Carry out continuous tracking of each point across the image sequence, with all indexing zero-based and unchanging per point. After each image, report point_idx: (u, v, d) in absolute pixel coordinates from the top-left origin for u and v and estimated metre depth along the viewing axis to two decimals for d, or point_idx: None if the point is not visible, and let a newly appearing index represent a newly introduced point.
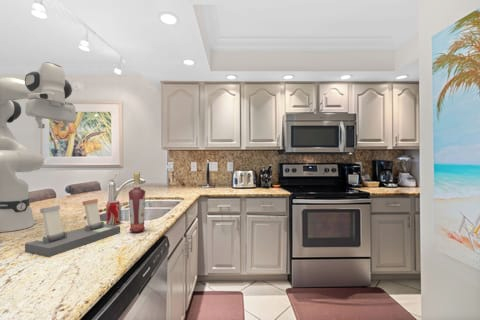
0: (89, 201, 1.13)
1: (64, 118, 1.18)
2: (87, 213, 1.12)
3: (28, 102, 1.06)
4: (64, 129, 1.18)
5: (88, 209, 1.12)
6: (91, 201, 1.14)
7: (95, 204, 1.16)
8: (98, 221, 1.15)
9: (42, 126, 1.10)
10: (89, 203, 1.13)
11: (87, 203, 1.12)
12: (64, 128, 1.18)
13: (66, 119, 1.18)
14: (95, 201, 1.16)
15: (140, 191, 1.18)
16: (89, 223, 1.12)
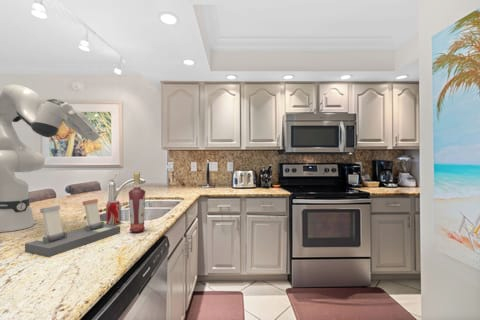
0: (89, 201, 1.13)
1: (70, 117, 1.12)
2: (87, 213, 1.12)
3: None
4: (72, 115, 1.08)
5: (88, 209, 1.12)
6: (91, 201, 1.14)
7: (95, 204, 1.16)
8: (98, 221, 1.15)
9: (89, 132, 1.13)
10: (89, 203, 1.13)
11: (87, 203, 1.12)
12: (72, 115, 1.08)
13: (68, 116, 1.11)
14: (95, 201, 1.16)
15: (140, 191, 1.18)
16: (89, 223, 1.12)
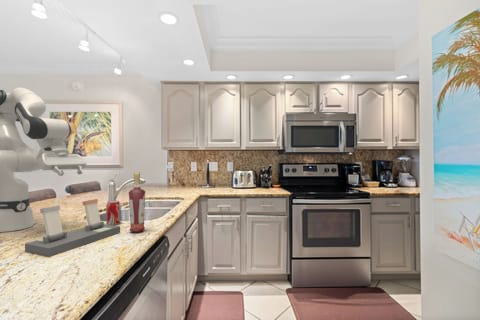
0: (89, 201, 1.13)
1: (75, 162, 1.24)
2: (87, 213, 1.12)
3: (38, 159, 1.13)
4: (80, 171, 1.24)
5: (88, 209, 1.12)
6: (91, 201, 1.14)
7: (95, 204, 1.16)
8: (98, 221, 1.15)
9: (61, 172, 1.15)
10: (89, 203, 1.13)
11: (87, 203, 1.12)
12: (80, 170, 1.24)
13: (78, 163, 1.25)
14: (95, 201, 1.16)
15: (140, 191, 1.18)
16: (89, 223, 1.12)
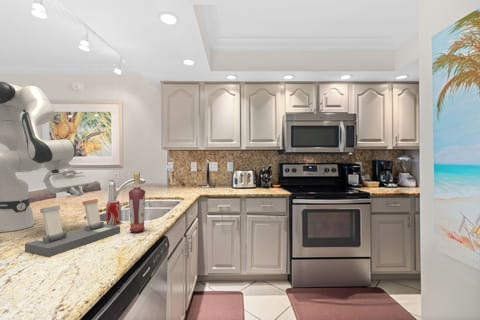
0: (89, 201, 1.13)
1: (83, 182, 1.23)
2: (87, 213, 1.12)
3: (46, 183, 1.13)
4: (81, 192, 1.19)
5: (88, 209, 1.12)
6: (91, 201, 1.14)
7: (95, 204, 1.16)
8: (98, 221, 1.15)
9: (78, 192, 1.18)
10: (89, 203, 1.13)
11: (87, 203, 1.12)
12: (81, 191, 1.19)
13: (85, 182, 1.24)
14: (95, 201, 1.16)
15: (140, 191, 1.18)
16: (89, 223, 1.12)
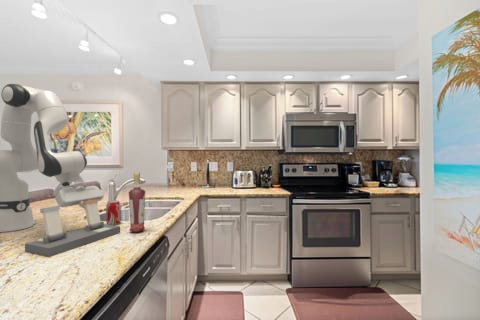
0: (89, 201, 1.13)
1: (93, 196, 1.20)
2: (87, 213, 1.12)
3: (56, 196, 1.09)
4: None
5: (88, 209, 1.12)
6: (91, 201, 1.14)
7: (95, 204, 1.16)
8: (98, 221, 1.15)
9: None
10: (89, 203, 1.13)
11: (87, 203, 1.12)
12: None
13: (95, 196, 1.21)
14: (95, 201, 1.16)
15: (140, 191, 1.18)
16: (89, 223, 1.12)
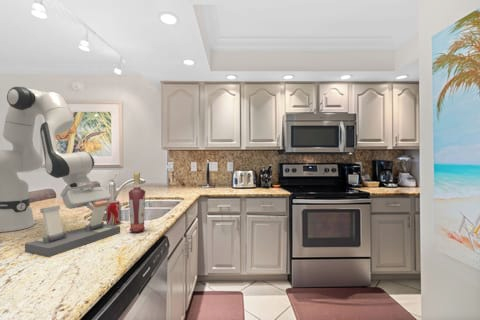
0: (100, 204, 1.11)
1: (100, 197, 1.18)
2: (93, 214, 1.11)
3: (64, 197, 1.07)
4: None
5: (96, 211, 1.11)
6: (102, 204, 1.12)
7: (104, 206, 1.14)
8: (99, 222, 1.15)
9: None
10: (99, 206, 1.11)
11: (97, 206, 1.10)
12: None
13: (103, 197, 1.19)
14: (105, 204, 1.14)
15: (140, 191, 1.18)
16: (91, 224, 1.11)
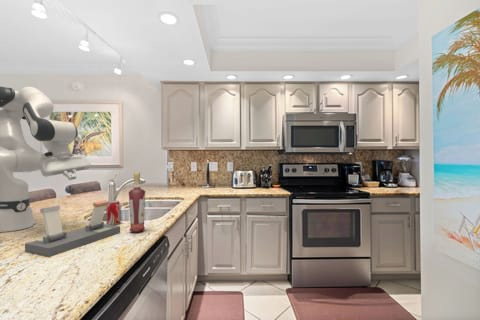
0: (100, 204, 1.11)
1: (78, 165, 1.24)
2: (93, 214, 1.11)
3: (40, 165, 1.15)
4: (74, 176, 1.20)
5: (96, 211, 1.11)
6: (102, 204, 1.12)
7: (104, 206, 1.14)
8: (99, 222, 1.15)
9: (70, 177, 1.19)
10: (99, 206, 1.11)
11: (97, 206, 1.10)
12: (74, 175, 1.20)
13: (80, 165, 1.24)
14: (105, 204, 1.14)
15: (140, 191, 1.18)
16: (91, 224, 1.11)
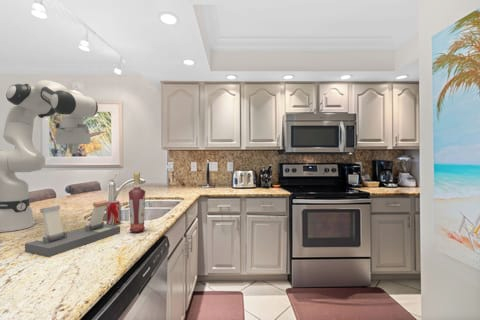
0: (100, 204, 1.11)
1: (74, 141, 1.19)
2: (93, 214, 1.11)
3: None
4: (72, 152, 1.21)
5: (96, 211, 1.11)
6: (102, 204, 1.12)
7: (104, 206, 1.14)
8: (99, 222, 1.15)
9: (70, 152, 1.21)
10: (99, 206, 1.11)
11: (97, 206, 1.10)
12: (72, 151, 1.21)
13: (76, 142, 1.18)
14: (105, 204, 1.14)
15: (140, 191, 1.18)
16: (91, 224, 1.11)
